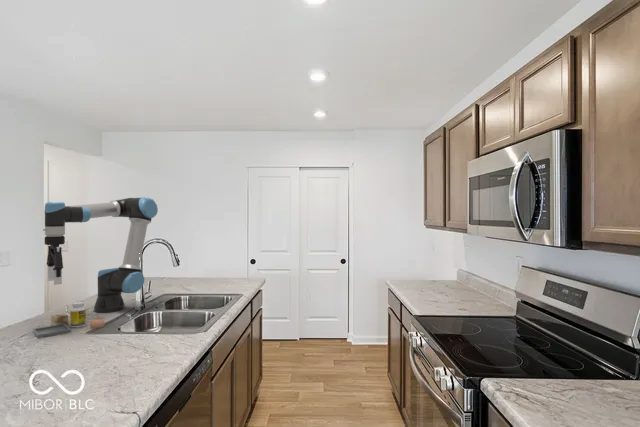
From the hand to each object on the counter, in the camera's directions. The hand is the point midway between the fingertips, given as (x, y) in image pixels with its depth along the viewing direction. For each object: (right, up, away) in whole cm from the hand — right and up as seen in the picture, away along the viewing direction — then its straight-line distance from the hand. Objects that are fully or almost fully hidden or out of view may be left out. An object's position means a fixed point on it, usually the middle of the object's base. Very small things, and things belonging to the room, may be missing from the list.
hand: (54, 282), depth 170 cm
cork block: (-5, -23, +10) cm, 25 cm away
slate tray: (-1, -23, -1) cm, 23 cm away
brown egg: (+15, -23, +8) cm, 28 cm away
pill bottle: (+5, -23, +9) cm, 25 cm away
